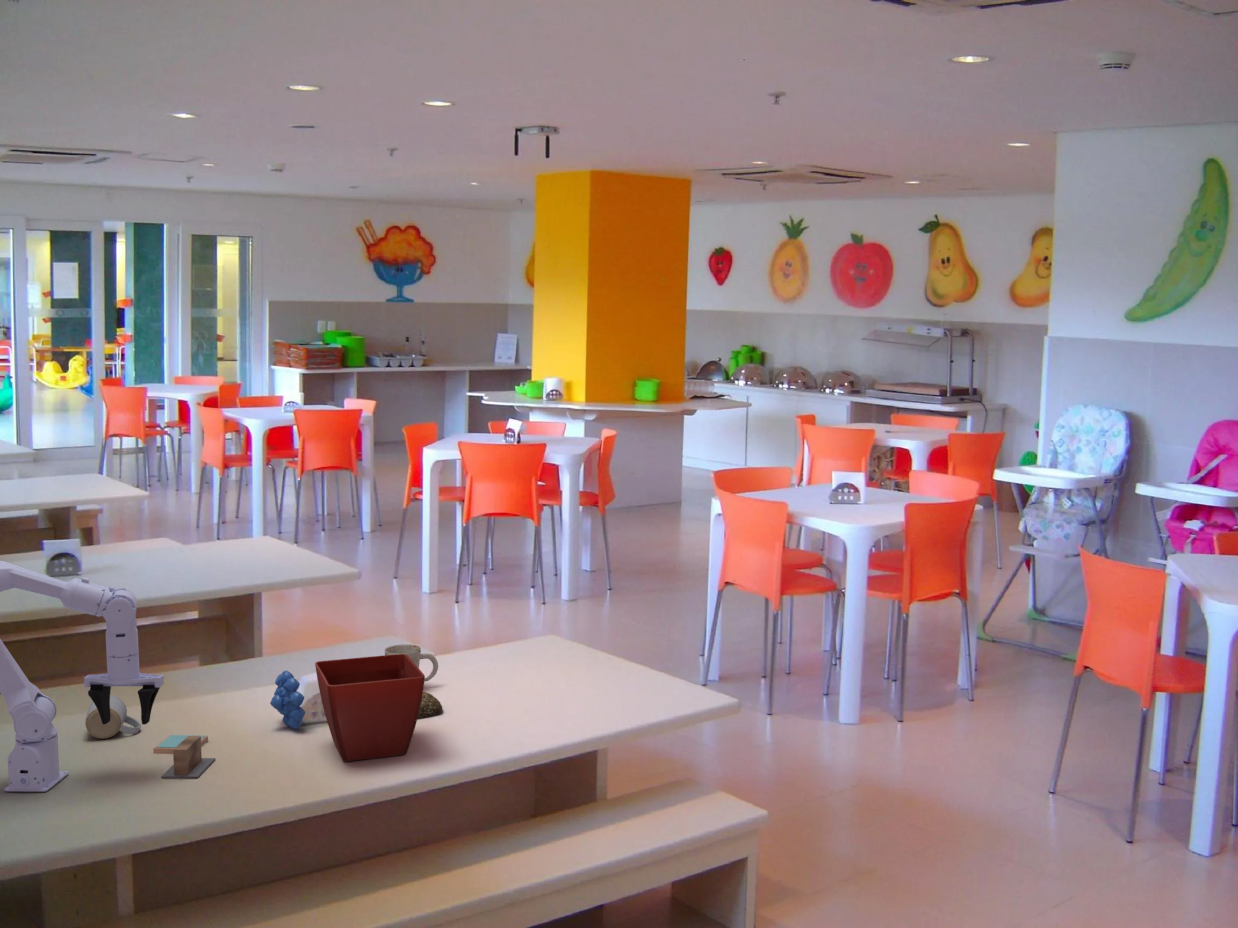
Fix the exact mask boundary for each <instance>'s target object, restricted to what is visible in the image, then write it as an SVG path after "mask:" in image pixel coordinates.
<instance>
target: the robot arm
mask: <svg viewBox="0 0 1238 928" xmlns="http://www.w3.org/2000/svg"><path fill="white" fill-rule="evenodd" d="M12 589H19V590H23V591H28V592H31V593H35V594H39V595H43V596H48V597H52V598H56V599H59V600H60V602H61V603H62V605H63V607H64V608H67V609H70V610H73V611H78V612H80V613H84V614H88V615H91V616H96V617H103V619H104V620H105V623H106V625H105V626H106V631H105V644H106V645H105V646H106V647H105V648H106V670H107V673H99V674H87V675H86V676H84V677H83V683H84V688H89V690H88V691H87V695H88V697H90V699H91V701H93V702H94V704H95V705H96V707H97V709H98V712H99V714H100V717H101V721H102V724H107V723H108V722H110V716H111V715H110V694H111V689H112V687H142V688H140V689H138V690H137V695H138V699H139V704H140V711H141V712H140V717H141V719H140V720H141V725H147V724H148V723H150V720H151V714H152V709H153V705H154V703H155V699H156V698H157V695H158V692H159V690H160V689H161V687H163V686H164V684H165V683H164V674H152V673H145V672H140V655H139V654H140V651H139V631H138V627H137V625H138V622H137V618H136V617H137V607H138V600H137V597H136V596H135V594H134V593H133V592H132V591H130V590H127V589H126V588H123V587H121V588H120V587H119V588H116V587H115V586H112V585H110V586H107V587H106V586H104V585H101V584H97V583H94V582H91V581H90V578H89V577H85V576H82V578H81V579H80V578H77V577H75V578H73V579H70V580H67V581H64V580H61V579H58V578H55V577H52V576H49V575H46V574H43V573H41V572H37V571H34V570H31V569H28V568H26V567H22V566H19V565H16V564H13V563H12V562H11V563H10V562H7V561H5V560H0V593H1V592H4V591H8V590H12ZM0 694H1V696H2V697H3V698H4V700H5V705H6V707H7V712H8V714H9V716H11V718H12V721H13V729H14V730H13V731H14V732H15V745H14V747H13V749H11V751H10V753H9V755H8V757H7V771H8V772H7V773H8V786H6V787H5V788H4V792H41V793H42V792H43V793H44V792H48V791H49V790H50V789H51V788H53V787H54V786H55V785H56V784H58V783H59V782H60V781H61V780H63V779H64V778H65V777H66V776H68V774H70V773H69V771H68V770H60V755H59V754H60V753H59V737H58V730H57V728H56V727H55V726H54V724H53V723H52V722H53V721H54V719H55V717H56V715H57V706H56V703H55V701H54V700H53V699H52V698H51V697H50V696H47V695H46V694H43V693H42V691H41V690H40V689H39V687H38V686H37V685H35V684H33V683H32V682H31V681H30V680H29V679H28V678H27V676H26V675H25V673H24V672H23V670H22V669H21V667H20V665H19V664H18V662H17V661H16V660H15V658H14V657H13V655H12V654H11V651H9V650H8V648H7V646H6V645H5V643H4V642H3V640H2V639H1V638H0Z"/></svg>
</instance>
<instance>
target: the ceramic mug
mask: <svg viewBox="0 0 1238 928" xmlns="http://www.w3.org/2000/svg"><path fill="white" fill-rule="evenodd" d="M127 711H128V709H127V706H126V704H125V702H124V700H123V699H122V698H120V697H118V696H116V695H115V694H111V693H110V715H111V716H110V722H108V723H107V724H102V721H101V717H100V714H99V712H98V709H97V707H96V705H95V704H94V702H93V700H91V702H90V704H89V706H88V709H87V714H86V716H85V722H84V724H85V728H86V731H87V732H88V734H89V735H91V736H92V737H93V738H95V739H100V740H105V739H110V738H111V737H114V736H115V735H116V734H118V733H119V732H121V733H124V734H128V735H137V734H138V733H139V732H140V729H141V728H142V727H141V726H142V723H141V722H140V721H139V720H137V719H136V718H134V717H133V716H130V715H128V714H127V713H128V712H127ZM124 723H125V724H128V725H130V726H128V725H125V724H124Z"/></svg>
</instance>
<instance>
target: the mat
mask: <svg viewBox="0 0 1238 928" xmlns="http://www.w3.org/2000/svg"><path fill="white" fill-rule="evenodd" d="M215 761H216V758H215V757H202V761H201V762H200V763H199V764H198V765H197V766H196V767H195V768H194V769H193V770H192V771H191V772H190V773H189V774H188V775H174V763H173V764H172V765H171V766H170V767H169V768H168V769H167V770H166V771H165V772H164V773H163V774H162V775H161V776H160V778H161V779H185V780H186V779H192V780H194V779H199V778H200V777H201V776H202V775H203V774H204V773H205V772H206V771H207V769H209V767H210V766H211V765H212V764H214V762H215Z"/></svg>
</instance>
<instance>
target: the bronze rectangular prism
mask: <svg viewBox="0 0 1238 928" xmlns="http://www.w3.org/2000/svg"><path fill="white" fill-rule="evenodd" d="M172 755H173V756H172V757H173V758H172V759H173V764H174V775H188V774H189V773H190V772H191V771H192V770H193V769H194V768H195V767H196V766H197V765H198V764H199V763H200V762H201V761H202V758H203V755H202V746H201V736H187V737H186V738H185V739H184V740H183V741H182V742H181V743H180V744H179V745H178V746H177V747H176V748H175V749H174V750H173V754H172Z"/></svg>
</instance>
